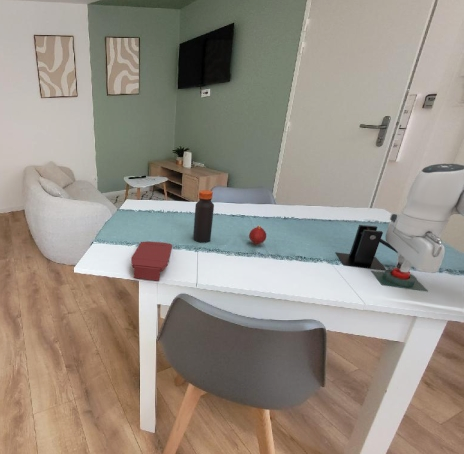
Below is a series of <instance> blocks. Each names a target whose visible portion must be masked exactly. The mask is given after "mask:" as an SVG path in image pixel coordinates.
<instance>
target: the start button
mask: <svg viewBox="0 0 464 454" xmlns="http://www.w3.org/2000/svg"><path fill="white" fill-rule="evenodd" d="M392 269H393V271H392V273H391V274H392V275H393V276H395V277H398V278H402V279H408V278H409V276H410V274H411V271H409V272H401V271H400V270H399V269H398V268H397V267H393V268H392Z"/></svg>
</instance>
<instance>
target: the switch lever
mask: <svg viewBox="0 0 464 454" xmlns="http://www.w3.org/2000/svg"><path fill="white" fill-rule="evenodd" d="M364 230H371V229H369V228H368V227H367V228H365V229H364ZM364 230H363V231H364ZM363 231H362V232H360V233H361V234H363ZM379 244H381V245H383V246H385V247H387V248H388V249H390V250H392V251H394V252H395V253H396V254H397V253H398V252H397V251H396V250H395V249H394V248H393V247H392V246H391V245H390V244H389V243H388V242H387V241H386V240H385V239H383V238H381V240H380V242H379Z"/></svg>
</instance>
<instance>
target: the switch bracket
mask: <svg viewBox="0 0 464 454" xmlns="http://www.w3.org/2000/svg"><path fill="white" fill-rule="evenodd" d="M367 227H368V228H369V229H371V230H364V229H365V228H367ZM363 230H364V231H363ZM362 231H363V234H361V233H360V232H362ZM383 233H384V232H383V231H382V230H378V226H377V225H365V224H359V225H358V227H357V230H356V233H355V237H354V240H353V242H352V245H351V249H350V251H349V253H344V252H335V255H336V257H337V258H338V260H339V261H340V263H341V264H342V266H344V267H351V268H361V269H368V270H369V269H370V270H374V271H382V272H385V270H387V268H386V267H385V266H384V265H383V264H382V263H381V262H380V260H379V259H378V258H377V257H376V253H377V251H378V248H379V245H380V240H381V239H382V236H383Z"/></svg>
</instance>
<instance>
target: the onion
mask: <svg viewBox="0 0 464 454" xmlns="http://www.w3.org/2000/svg"><path fill="white" fill-rule="evenodd" d="M248 239H249V241H250V242H251V243H253V245H255V246H258V245H260V244H261V245H262V244H263V243H264V242H265V241H266V240H267V232H266V231H265V230H264V228H262V227H261V225H257V226H256V227H254V228H252V229H251V230H250V232H249V235H248Z"/></svg>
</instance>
